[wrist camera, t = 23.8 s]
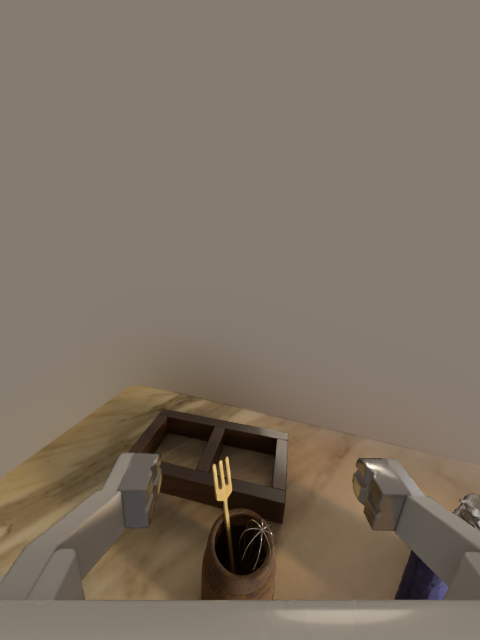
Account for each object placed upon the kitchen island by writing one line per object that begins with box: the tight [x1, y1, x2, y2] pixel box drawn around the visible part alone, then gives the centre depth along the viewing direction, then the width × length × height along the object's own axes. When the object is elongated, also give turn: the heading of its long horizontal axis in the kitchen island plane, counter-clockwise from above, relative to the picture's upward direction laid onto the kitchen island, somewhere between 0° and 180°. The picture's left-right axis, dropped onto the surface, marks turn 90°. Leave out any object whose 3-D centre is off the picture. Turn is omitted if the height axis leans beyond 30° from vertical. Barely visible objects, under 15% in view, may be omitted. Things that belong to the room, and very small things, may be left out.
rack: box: [128, 409, 288, 524], centre depth 33 cm, size 10×20×3 cm, turn 78°
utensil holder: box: [202, 456, 276, 600], centre depth 20 cm, size 6×6×12 cm
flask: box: [394, 494, 480, 600], centre depth 20 cm, size 9×3×11 cm, turn 115°
